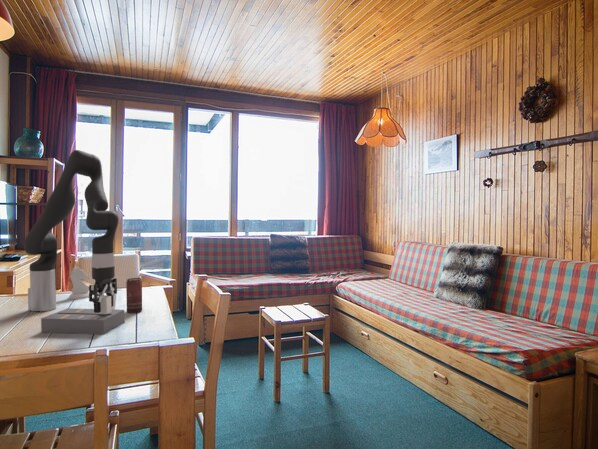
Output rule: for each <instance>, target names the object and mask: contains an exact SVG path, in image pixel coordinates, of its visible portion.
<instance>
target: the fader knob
mask: <svg viewBox="0 0 598 449" xmlns="http://www.w3.org/2000/svg"><path fill="white" fill-rule="evenodd" d="M100 302H101V312H99V313H96V314H101V315H107V314H109V313H111V296H103V297H102V298H101V301H100Z"/></svg>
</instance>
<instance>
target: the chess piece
mask: <svg viewBox="0 0 598 449" xmlns="http://www.w3.org/2000/svg"><path fill="white" fill-rule="evenodd" d="M70 280H71V283H72V285H73V286H72V289H71V290H70V291H71V293H70V294H69V296H68V299H70V300H83V299H89V285H87V284H86V282H88V281H90V275H87V274H86V273H85V271H84V270H83V269H82V268H80V267H79V266H75V267H74V268H72V270H71V272H70ZM84 281H85V282H84Z"/></svg>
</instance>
